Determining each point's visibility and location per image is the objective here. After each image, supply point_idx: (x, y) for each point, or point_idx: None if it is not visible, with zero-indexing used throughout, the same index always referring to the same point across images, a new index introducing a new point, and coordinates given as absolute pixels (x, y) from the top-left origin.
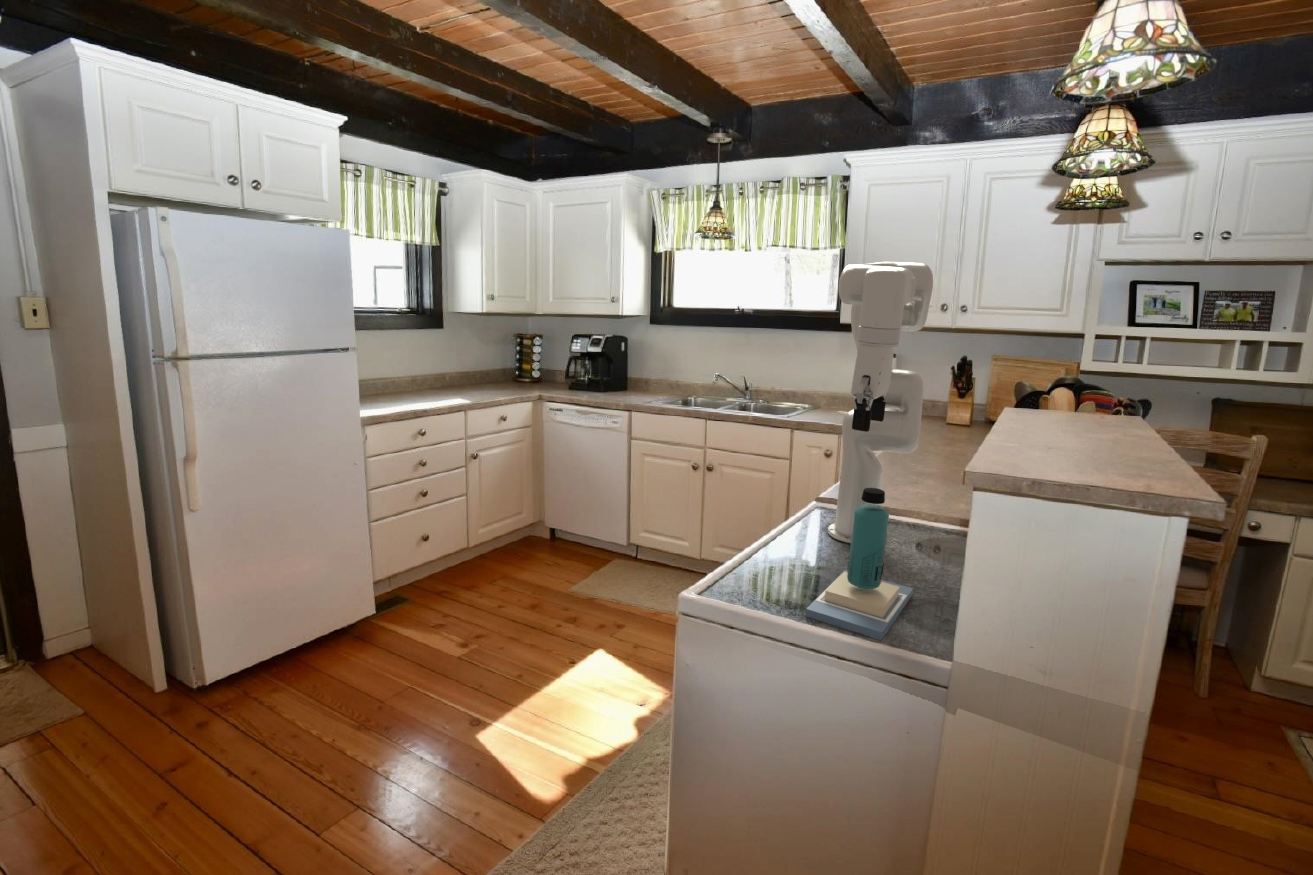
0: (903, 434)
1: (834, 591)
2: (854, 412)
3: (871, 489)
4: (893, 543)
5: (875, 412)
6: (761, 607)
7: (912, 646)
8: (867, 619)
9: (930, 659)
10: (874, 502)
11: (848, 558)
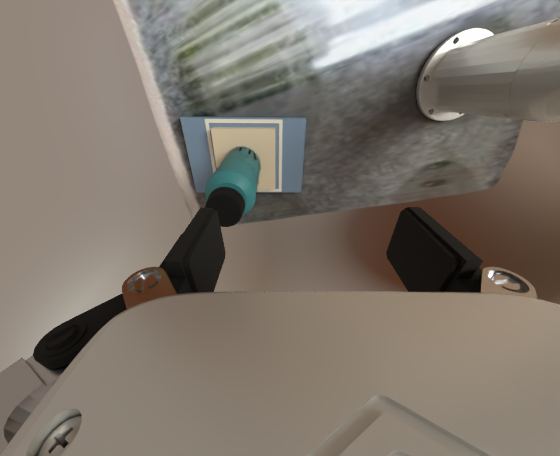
0: None
1: (216, 138)
2: (176, 250)
3: (219, 209)
4: (438, 137)
5: (408, 253)
6: (158, 59)
7: None
8: (208, 176)
9: None
10: None
11: (234, 150)
